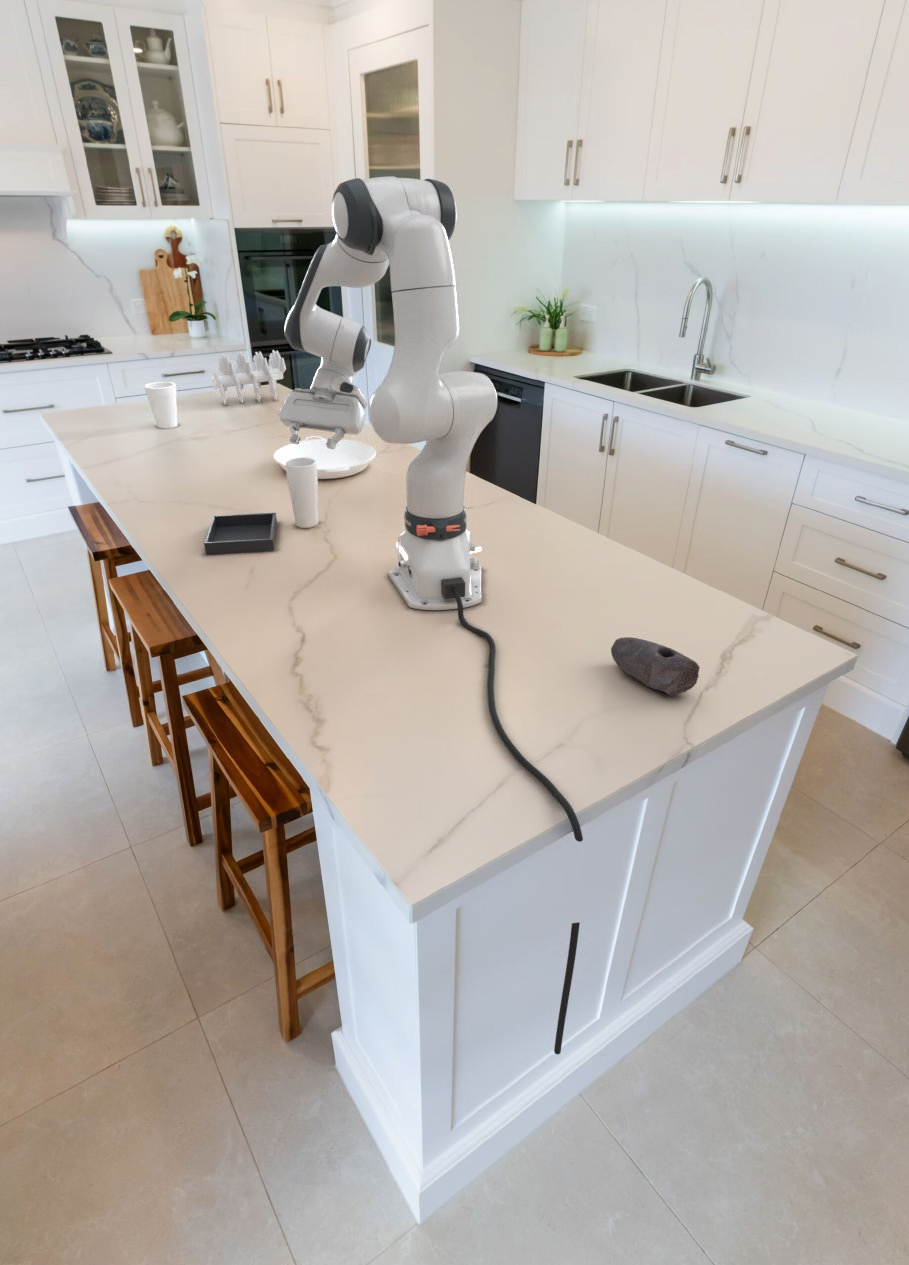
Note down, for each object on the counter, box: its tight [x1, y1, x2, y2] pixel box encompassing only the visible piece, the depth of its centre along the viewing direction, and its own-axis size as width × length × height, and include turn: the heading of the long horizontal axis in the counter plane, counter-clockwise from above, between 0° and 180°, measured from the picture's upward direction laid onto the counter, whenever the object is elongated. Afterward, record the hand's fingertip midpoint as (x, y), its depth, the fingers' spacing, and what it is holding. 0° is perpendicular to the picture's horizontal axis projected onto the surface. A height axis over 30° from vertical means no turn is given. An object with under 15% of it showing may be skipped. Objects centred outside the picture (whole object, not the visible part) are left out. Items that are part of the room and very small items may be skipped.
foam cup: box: [144, 381, 178, 429], centre depth 239 cm, size 10×9×13 cm
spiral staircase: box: [211, 349, 287, 406], centre depth 267 cm, size 18×18×25 cm
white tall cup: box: [285, 457, 319, 529], centre depth 168 cm, size 7×7×15 cm
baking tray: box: [203, 512, 278, 556], centre depth 164 cm, size 16×14×3 cm
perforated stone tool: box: [610, 636, 701, 697], centre depth 116 cm, size 15×5×7 cm, turn 40°
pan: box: [272, 435, 377, 480], centre depth 207 cm, size 34×28×4 cm
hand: (311, 445), depth 167 cm, fingers open, 8 cm apart
